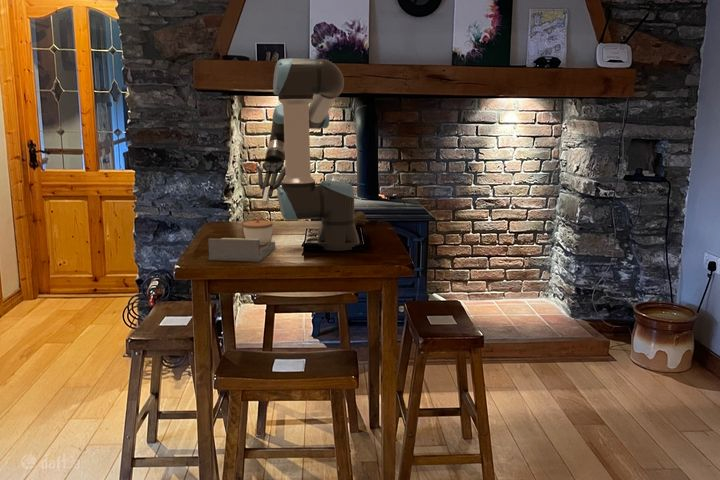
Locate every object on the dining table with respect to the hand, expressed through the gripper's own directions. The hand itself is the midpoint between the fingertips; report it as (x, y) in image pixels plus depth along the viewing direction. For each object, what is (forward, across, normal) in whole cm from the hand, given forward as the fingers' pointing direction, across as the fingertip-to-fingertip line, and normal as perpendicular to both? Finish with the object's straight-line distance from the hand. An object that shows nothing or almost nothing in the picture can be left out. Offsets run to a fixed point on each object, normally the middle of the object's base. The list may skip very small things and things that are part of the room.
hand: (265, 202), depth 244 cm
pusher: (+31, 0, +13) cm, 33 cm away
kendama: (-8, -27, -28) cm, 40 cm away
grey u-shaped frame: (+28, 0, +10) cm, 30 cm away
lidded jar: (+17, 0, -2) cm, 17 cm away
